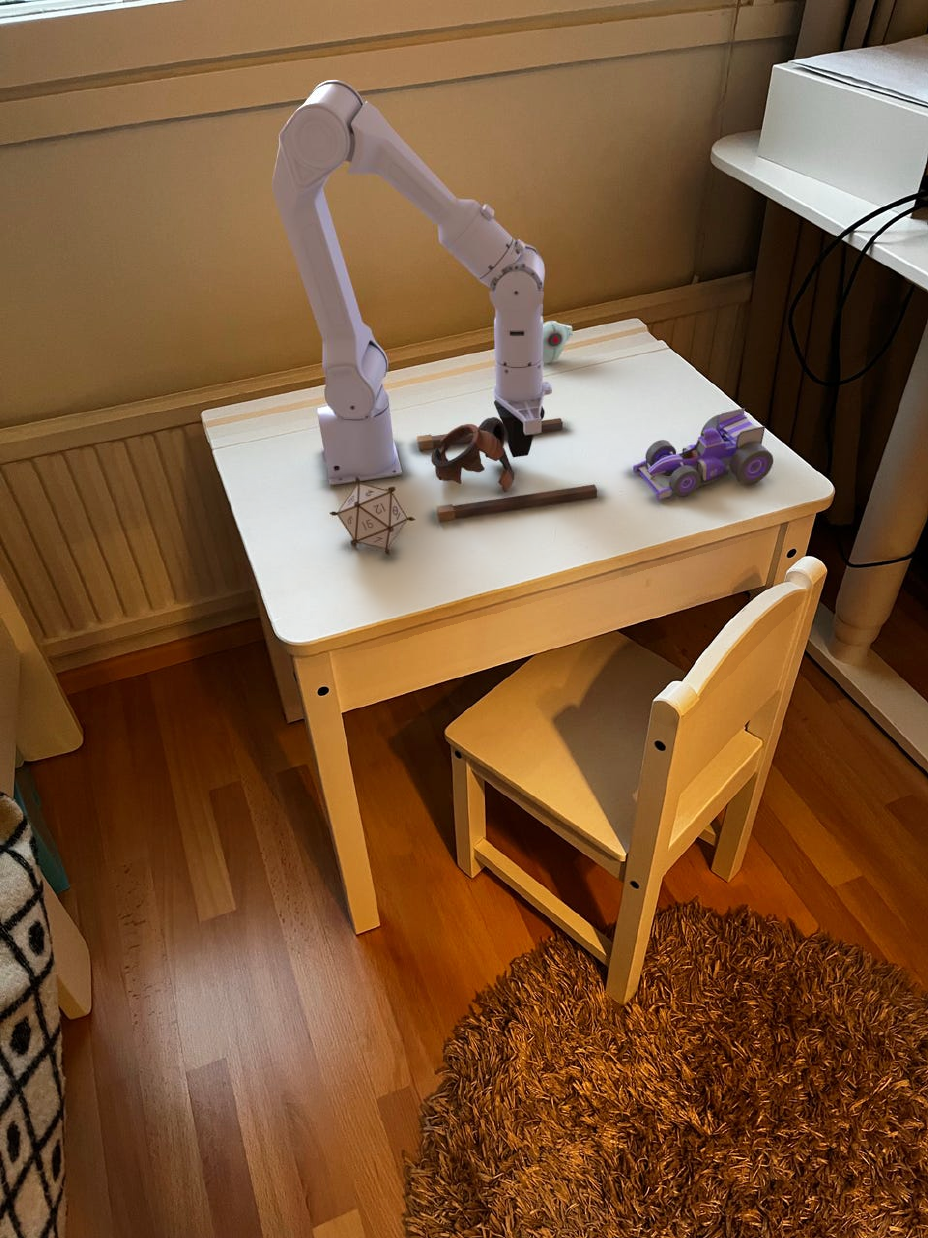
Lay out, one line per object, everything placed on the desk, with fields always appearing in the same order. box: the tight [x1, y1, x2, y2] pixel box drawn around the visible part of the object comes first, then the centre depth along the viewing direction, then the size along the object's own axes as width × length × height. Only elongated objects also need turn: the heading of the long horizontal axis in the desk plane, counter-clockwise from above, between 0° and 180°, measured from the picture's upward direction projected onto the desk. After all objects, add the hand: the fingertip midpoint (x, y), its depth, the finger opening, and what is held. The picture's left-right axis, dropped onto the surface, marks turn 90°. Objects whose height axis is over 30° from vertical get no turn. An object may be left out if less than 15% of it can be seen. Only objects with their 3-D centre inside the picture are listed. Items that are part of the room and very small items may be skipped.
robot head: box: [543, 320, 574, 364], centre depth 137 cm, size 8×4×7 cm, turn 109°
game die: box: [329, 477, 416, 556], centre depth 106 cm, size 9×8×10 cm
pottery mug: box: [430, 416, 515, 493], centre depth 117 cm, size 12×10×8 cm
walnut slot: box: [416, 417, 598, 523], centre depth 118 cm, size 20×18×1 cm
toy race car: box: [632, 407, 774, 501], centre depth 114 cm, size 10×15×6 cm, turn 109°
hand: (519, 453), depth 118 cm, fingers closed
